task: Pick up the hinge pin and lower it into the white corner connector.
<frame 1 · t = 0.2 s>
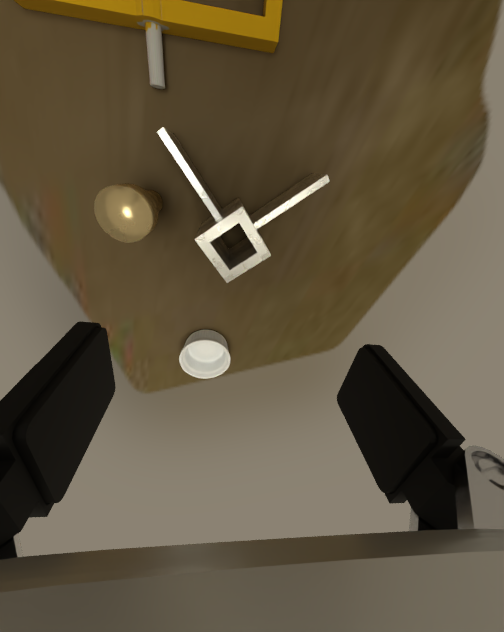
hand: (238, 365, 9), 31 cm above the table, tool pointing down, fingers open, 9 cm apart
ramekin: (206, 344, 47), on the table
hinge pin: (152, 201, 33), on the table
white corner connector: (232, 230, 36), on the table
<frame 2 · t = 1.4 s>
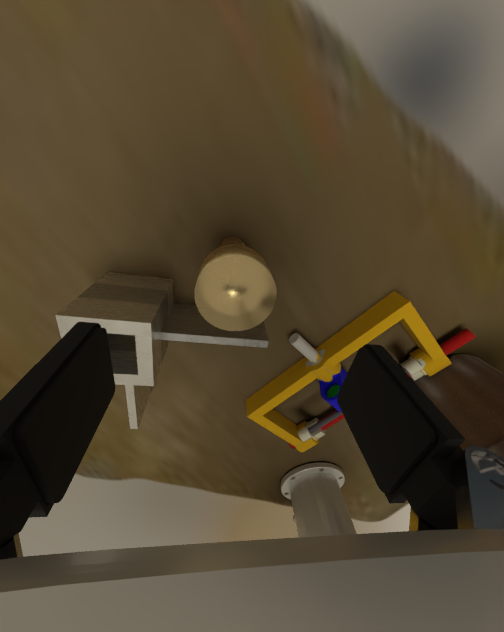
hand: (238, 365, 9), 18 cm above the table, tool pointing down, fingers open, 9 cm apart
mechanical clamp: (338, 359, 35), on the table
plant pot: (442, 382, 38), on the table
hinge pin: (232, 251, 25), on the table
white corner connector: (143, 302, 27), on the table
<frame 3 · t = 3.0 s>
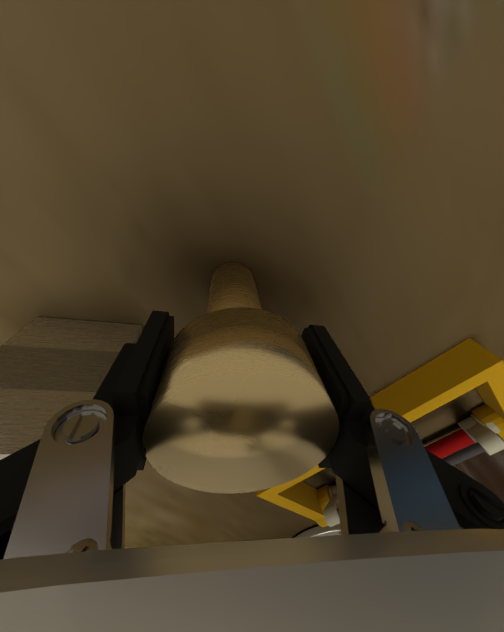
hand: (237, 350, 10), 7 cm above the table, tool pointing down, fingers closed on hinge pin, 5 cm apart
mechanical clamp: (376, 417, 26), on the table
plant pot: (503, 436, 30), on the table
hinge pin: (232, 283, 16), on the table, touching gripper
white corner connector: (98, 357, 18), on the table
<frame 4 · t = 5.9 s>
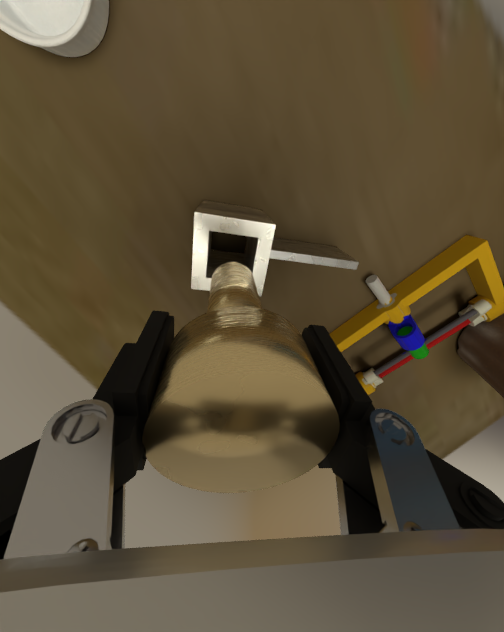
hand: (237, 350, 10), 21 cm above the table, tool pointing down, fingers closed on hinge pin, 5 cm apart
mechanical clamp: (401, 307, 37), on the table
plant pot: (492, 331, 40), on the table
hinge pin: (232, 282, 16), point 14 cm above the table, touching gripper
white corner connector: (229, 234, 28), on the table
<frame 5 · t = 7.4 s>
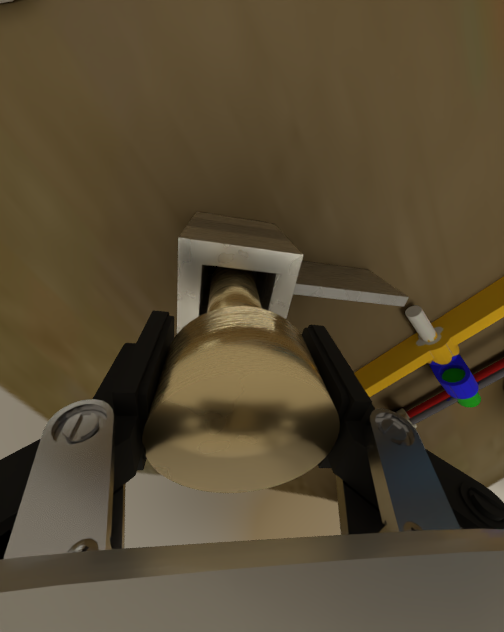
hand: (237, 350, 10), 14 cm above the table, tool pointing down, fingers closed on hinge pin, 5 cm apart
mechanical clamp: (442, 341, 30), on the table
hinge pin: (232, 282, 16), point 7 cm above the table, touching gripper
white corner connector: (231, 255, 22), on the table
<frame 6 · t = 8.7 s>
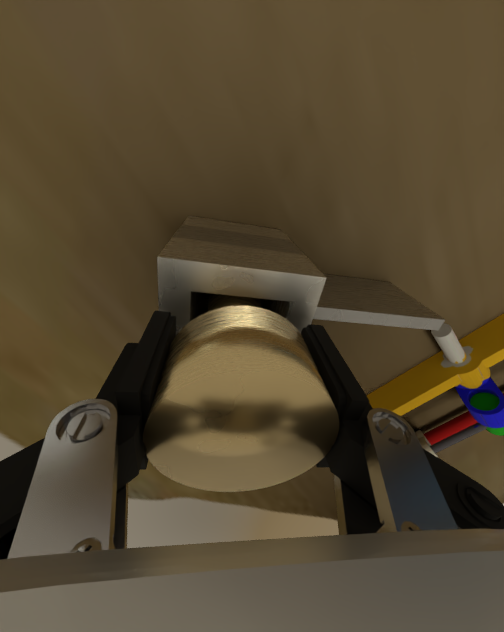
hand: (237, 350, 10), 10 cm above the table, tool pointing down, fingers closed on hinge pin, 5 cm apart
mechanical clamp: (467, 359, 27), on the table
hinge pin: (232, 282, 16), point 3 cm above the table, touching gripper
white corner connector: (230, 267, 18), on the table
when the fingers open (10 cm above the table, at t = 8.8 s): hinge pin drops 2 cm, resting on white corner connector.
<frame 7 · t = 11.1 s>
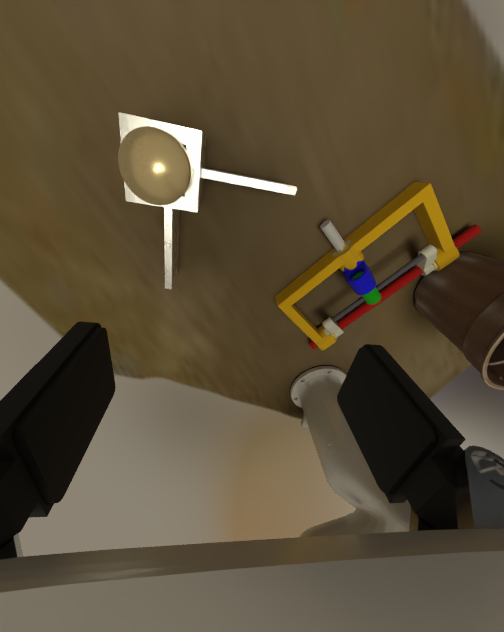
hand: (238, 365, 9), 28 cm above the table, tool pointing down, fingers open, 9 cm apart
mechanical clamp: (358, 258, 39), on the table
plant pot: (447, 284, 43), on the table
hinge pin: (176, 165, 28), point 1 cm above the table, touching white corner connector
white corner connector: (177, 165, 29), on the table
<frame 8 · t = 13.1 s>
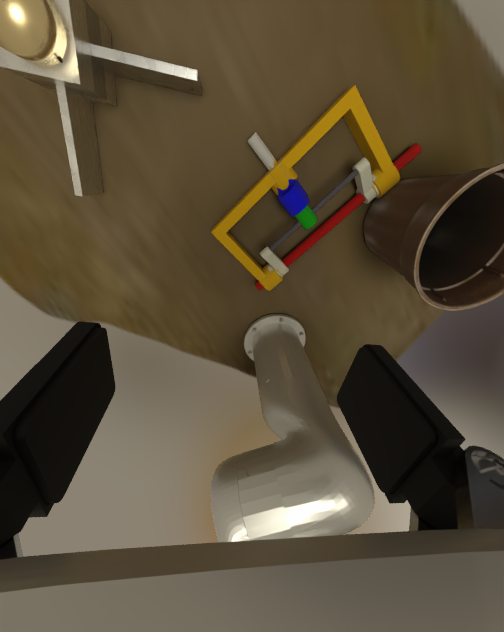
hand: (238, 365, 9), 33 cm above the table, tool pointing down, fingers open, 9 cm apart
mechanical clamp: (298, 185, 37), on the table
plant pot: (398, 220, 41), on the table
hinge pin: (79, 60, 27), point 1 cm above the table, touching white corner connector
white corner connector: (84, 63, 28), on the table
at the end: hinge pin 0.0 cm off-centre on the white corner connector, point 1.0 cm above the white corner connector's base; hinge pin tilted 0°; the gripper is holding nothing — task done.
